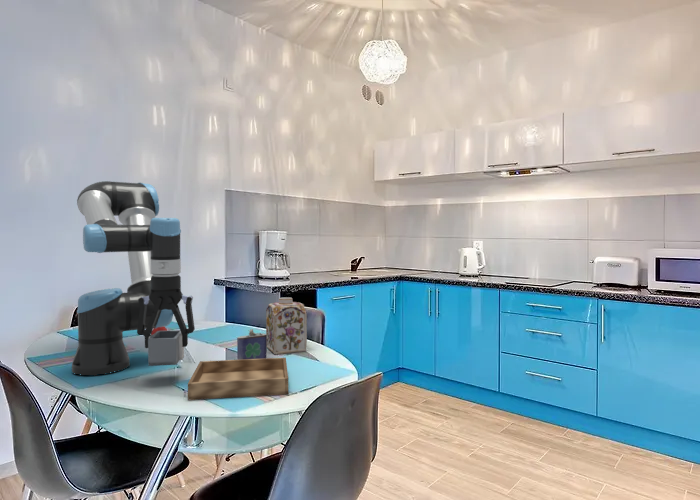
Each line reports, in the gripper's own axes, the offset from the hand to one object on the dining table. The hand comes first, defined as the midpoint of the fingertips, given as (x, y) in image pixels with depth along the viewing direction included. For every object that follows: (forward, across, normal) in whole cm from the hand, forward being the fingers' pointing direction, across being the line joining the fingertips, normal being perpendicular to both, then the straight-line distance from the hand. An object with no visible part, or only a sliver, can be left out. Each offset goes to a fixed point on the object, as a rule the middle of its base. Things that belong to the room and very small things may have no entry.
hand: (166, 358), depth 127 cm
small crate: (0, 0, 0) cm, 0 cm away
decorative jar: (+7, +33, +29) cm, 45 cm away
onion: (+7, -12, +44) cm, 46 cm away
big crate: (+6, +20, -7) cm, 22 cm away
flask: (+6, +22, +12) cm, 26 cm away
